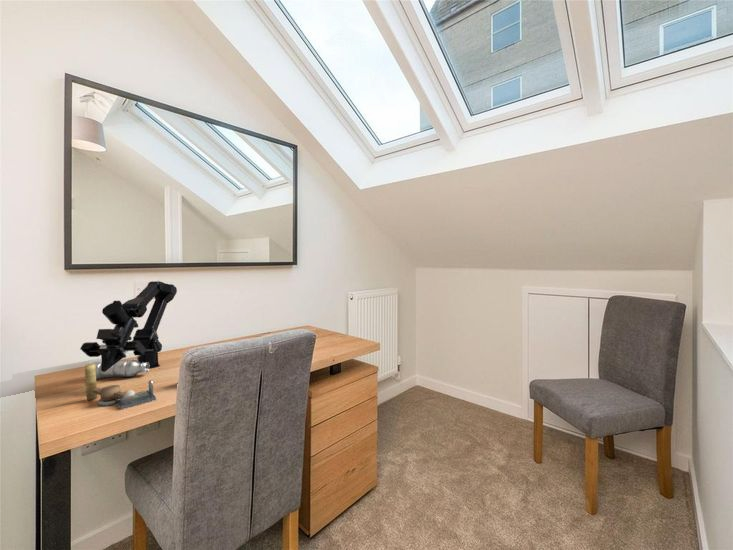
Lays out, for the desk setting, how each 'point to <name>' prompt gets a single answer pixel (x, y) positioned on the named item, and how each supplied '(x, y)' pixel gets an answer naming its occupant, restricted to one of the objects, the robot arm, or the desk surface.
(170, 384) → the desk surface
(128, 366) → the plastic bottle
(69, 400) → the desk surface
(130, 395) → the tan piece
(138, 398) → the level stand
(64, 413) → the desk surface
